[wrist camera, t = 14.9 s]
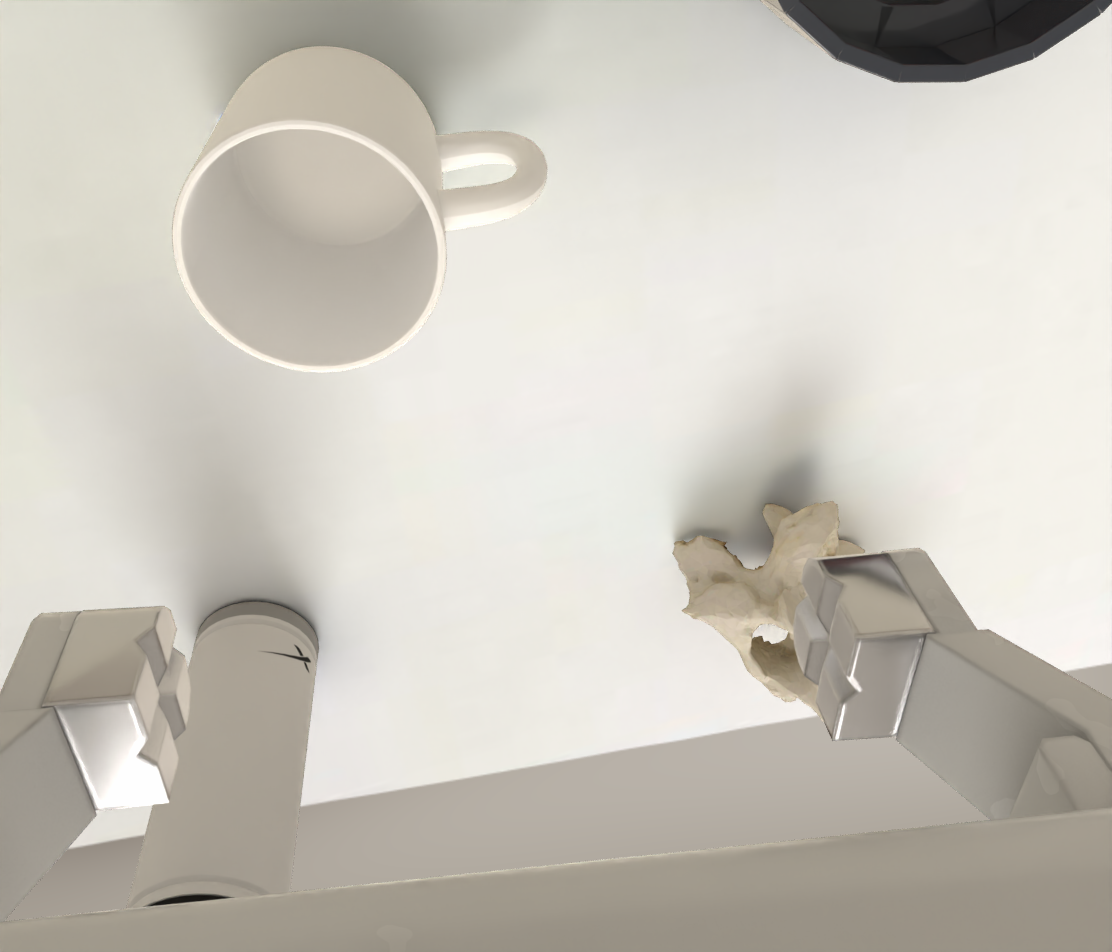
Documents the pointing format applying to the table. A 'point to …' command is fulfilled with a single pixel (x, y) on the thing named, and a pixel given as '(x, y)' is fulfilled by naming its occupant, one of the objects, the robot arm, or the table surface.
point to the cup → (332, 210)
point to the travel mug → (235, 763)
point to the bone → (763, 592)
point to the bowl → (935, 33)
